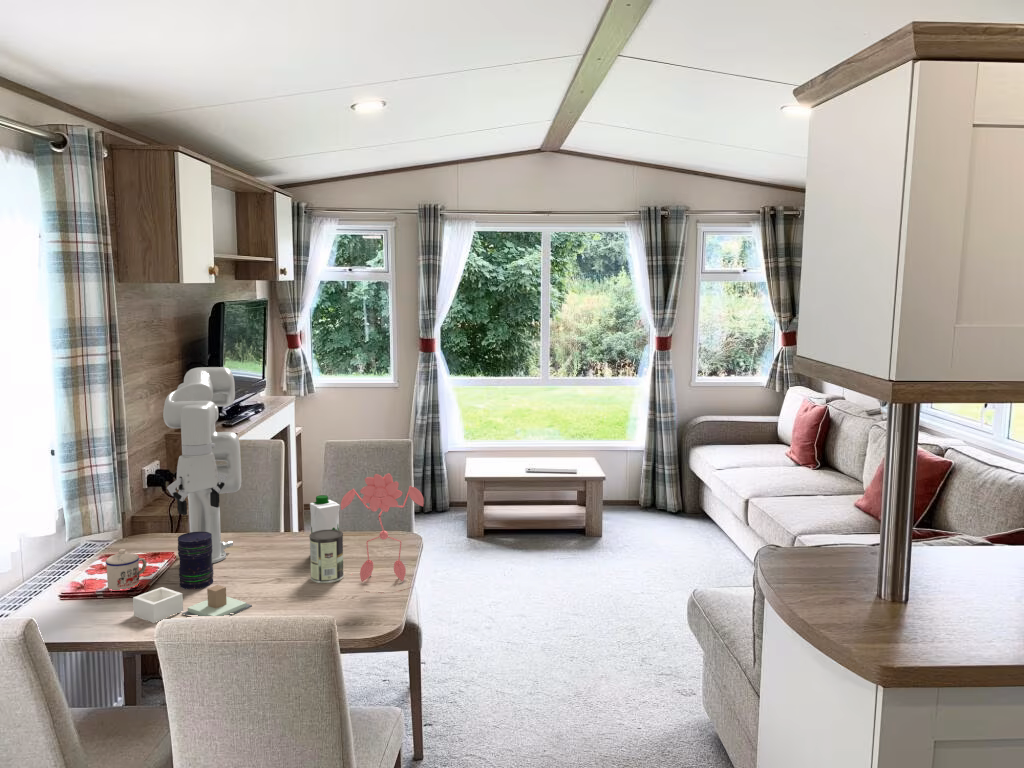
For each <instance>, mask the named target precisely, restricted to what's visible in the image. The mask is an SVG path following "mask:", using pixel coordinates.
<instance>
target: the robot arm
mask: <svg viewBox="0 0 1024 768" xmlns="http://www.w3.org/2000/svg"><path fill="white" fill-rule="evenodd" d="M235 384H236V383H235V378H234V375H233V373H232V371H231V369H229V368H228V367H225V366H220V367H219V366H208V367H207V366H206V367H203V366H201V367H194V368H191V369H189V370H188V371H186V373H185V375H184V377H183V382H182V383H180V384H178V386H177V389H175V390H174V391H171V392H170V393H168V395H167V396H166V398H165V399H164V400H165V401H164V404H163V405H164V406H163V411H162V414H163V417H162V418H163V421H164V424H165V425H166V426H167V427H168V428H170V429H180V433H181V455H179V457H178V460H177V466H176V479H175V480H174V481H173V482H172V483H170V484H169V485H167V487H166V489H167V490H168V493H170V496H171V497H172V498H174V500H175V501H176V504H177V505H176V507H177V512H178V515H182V516H187V515H188V518H189V533H190V532H209V533H211V534H212V538H211V539H212V549H213V550H212V564H216V563H218V562H221V561H223V560H224V559H226V557H227V552H226V551H225V550H226V549H227V548H230V547H232V546H233V545H234V544H233V543H234V542H233V541H232V540H229V541H224V540H223V541H222V540H221V539H222V538H221V535H222V534H221V510H220V494H229V493H230V494H231V493H236V492H238V491H239V490H240V489H241V486H242V460H241V444H240V439H239V436H238V434H237V433H235V432H233V431H216V422H217V421H218V419H219V407H229V406H231V405H233V403H234V402H235V397H236V389H235V388H236V387H235V386H236V385H235ZM216 461H217V462H218V461H219V462H220V461H224V462H226V464H225V463H224V464H217V462H216ZM186 498H187V500H186ZM187 501H188V503H187Z"/></svg>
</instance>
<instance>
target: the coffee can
mask: <svg viewBox="0 0 1024 768" xmlns="http://www.w3.org/2000/svg"><path fill="white" fill-rule="evenodd" d="M343 539H344V532H343V531H341V530H340V529H339V530H331V529H329V530H319V531H315V532H313V533H311V532H310V533H309V554H310V556H309V557H310V558H309V559H310V580H311V582H313V583H317V584H331V583H332V584H333V583H336V582H339V581H341V580H342V579H344V577H345V576H344V543H343V541H344V540H343Z"/></svg>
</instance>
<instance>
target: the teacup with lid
mask: <svg viewBox="0 0 1024 768" xmlns="http://www.w3.org/2000/svg"><path fill="white" fill-rule="evenodd" d="M140 562H142V566H141V568H140V567H139V566H140V564H139V563H140ZM105 565H106V576H107V577H106V578H107V579H106V580H107V589H108V588H109V589H112V590H120V589H126V588H130V587H133V586H135V585H137V584H138V583H139V581H140V575H141V574H143V573H144V572H145V571H146V569H147V560H146V559H145V558H143V557H140V556H139V555H138V554H137V553H133V552H129V551H127V549H125V548H121V549H118V552H117V553H115V554H113V555H110V556H109V557H107V558H106V560H105Z"/></svg>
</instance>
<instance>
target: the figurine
mask: <svg viewBox="0 0 1024 768" xmlns="http://www.w3.org/2000/svg"><path fill="white" fill-rule="evenodd" d="M364 482H365V484H366V485H365V486H363V487H362V488H361V489H360V490H359V491H360V494H362V495H363V496H362V497H361V496H360V495H359V494H358V492H357V491H356V490H355V488H352V489H350V490H348V492H346V493H345V494H344V495H343V497H342V499H341V502H340V510H341V511H342V510H344V509H345V508H347V507H348V506H349V505H350V504H351V503H352V502H353V501H354V498H355V496H356V497H357V498H358V499H359V501H360V502H362V504H363V505H364V506H365V508H366V509H367V510H370V511H371V512H377V511H378V509H380V510H381V511H380V512H379V514H378V520H379V523H380V527H381V530H382V531H380V532H379V535H378V536H377V537H374V538H371V539H368V540H366V553H367V554H366V555H367V560H365V562H363V564H362V565H361V567H360V571H359V577H360V582H361V583H362V582H364V581H366V580H367V579H368V578H369V577H371V575H373V574H372V573H373V570H374V561H373V560H371V559H370V556H369V543H368V542H371V541H374V540H377V539H379V538H380V539H381V540H387V539H391V540H394V541H397V542H399V552H398V559H396V560H395V561H394V563H393V572H394V574H395V576H396V577H397V578H398V579H399V580H400V581H401V582H404V580H405V576H406V571H407V570H406V566H405V564H404V563H403V562H402V560H401V549H402V540H400V539H397V538H395V537H390V536H389V532H388V531H386V530H385V529H384V526H383V522H382V518H381V516H382V514H383V512H385V513H388V512H389V510H390V508H401V509H402V508H403V509H404V507H405V506H406V503H407V500H408V497H409V498H410V499H411V500H412V502H414V503H415V504H416V505H418V506H421V507H424V504H425V503H424V501H425V500H424V496H423V494H422V491H420V490H419V489H418V488H417V487H415V486H413V485H409V487H408V491H407V494H406V497H405V499H404V502H403V505H399V502H398V500H397V499H399V498H400V497H402V496H403V491H402V490H400V489H399V486H400V485H399V484H400V483H399V482H398V481H396V480H395V481H394V478H393V476H392V474H391V473H386V474H384V476H382V475H381V474H378V473H375V474H374V475H373V476H367V477H364ZM367 504H368V505H369V506H368V505H367ZM353 574H354V573H352V574H350V576H352V575H353ZM411 588H412V586H410V587H407V588H403V589H400V590H399V591H400V592H403V591H405V590H409V589H411ZM365 591H366V593H369V591H367V590H365ZM379 593H381V594H385V593H384V592H380V591H379V592H378V593H377V594H379Z"/></svg>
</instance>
